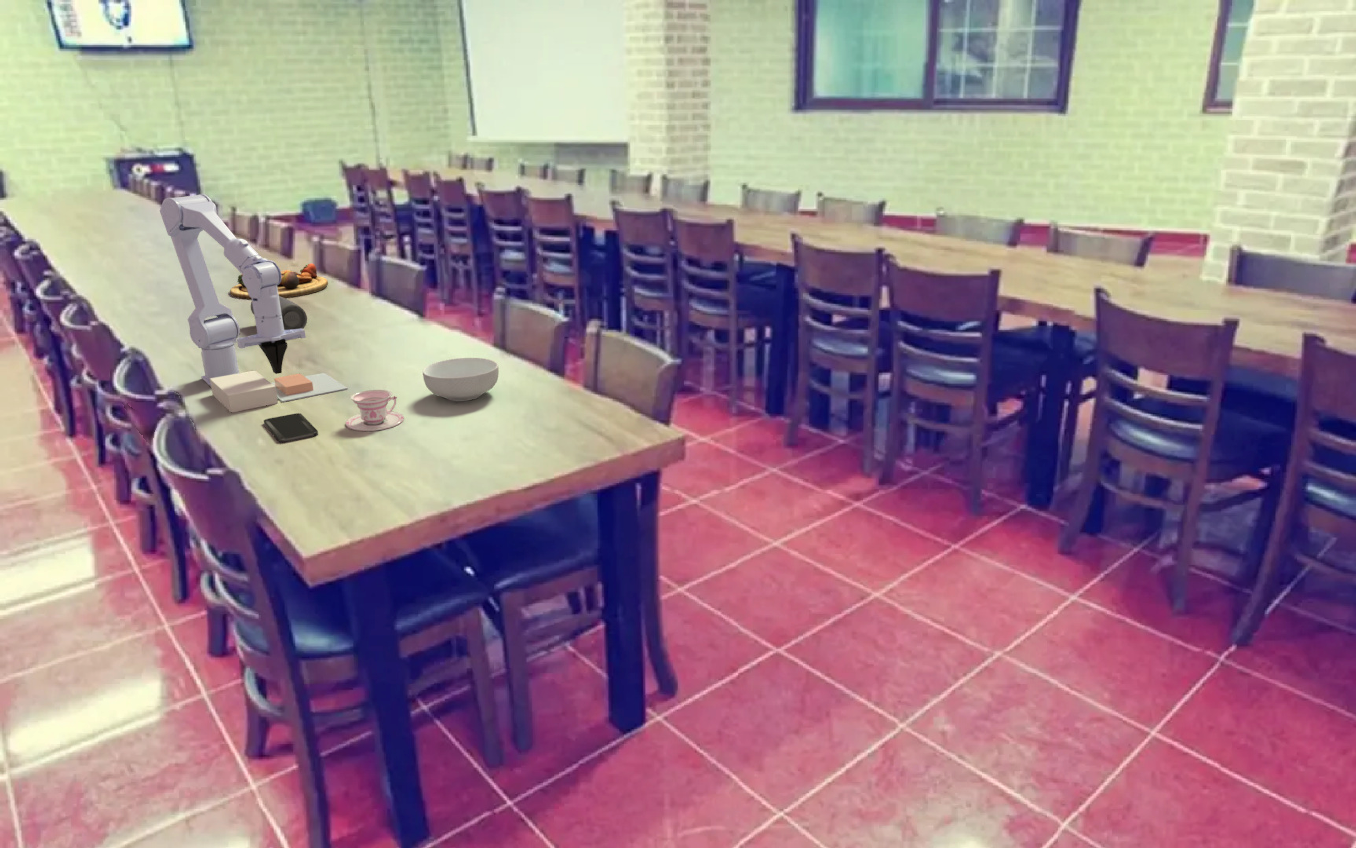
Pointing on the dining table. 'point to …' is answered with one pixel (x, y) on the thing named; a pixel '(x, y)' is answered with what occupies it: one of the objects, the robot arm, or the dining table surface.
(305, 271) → the wooden plate with food
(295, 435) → the phone
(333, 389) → the mat
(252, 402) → the cream rectangular block
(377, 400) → the teacup
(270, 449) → the dining table surface
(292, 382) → the terracotta tile
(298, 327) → the bluetooth speaker
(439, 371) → the cereal bowl
